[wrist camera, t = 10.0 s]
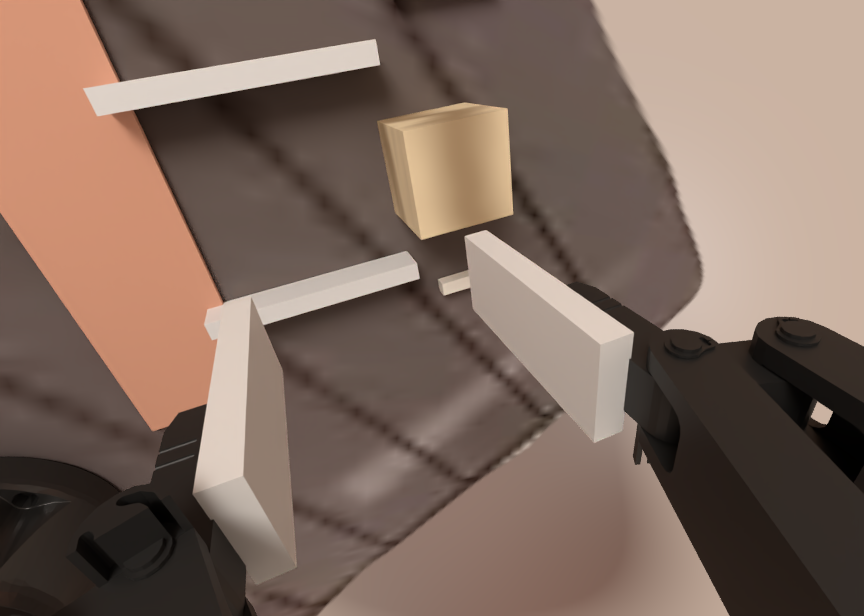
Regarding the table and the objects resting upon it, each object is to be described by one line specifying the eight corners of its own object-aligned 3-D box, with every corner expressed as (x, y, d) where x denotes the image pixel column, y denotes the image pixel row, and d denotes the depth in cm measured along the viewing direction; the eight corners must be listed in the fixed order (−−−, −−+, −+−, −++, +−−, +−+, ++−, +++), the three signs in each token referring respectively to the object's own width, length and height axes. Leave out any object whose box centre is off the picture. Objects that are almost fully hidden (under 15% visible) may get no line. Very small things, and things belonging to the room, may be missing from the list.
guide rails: (215, 321, 29) (212, 340, 27) (99, 87, 22) (83, 88, 20) (409, 265, 32) (419, 278, 30) (365, 41, 25) (375, 39, 23)
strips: (439, 290, 34) (444, 295, 33) (389, -23, 24) (393, -27, 23) (507, 269, 35) (513, 274, 35) (487, -37, 25) (495, -41, 24)
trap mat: (153, 427, 31) (152, 431, 31) (-191, -73, 17) (-200, -76, 17) (265, 390, 33) (265, 394, 33) (39, -92, 19) (35, -96, 18)
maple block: (394, 212, 30) (421, 239, 25) (376, 120, 27) (402, 131, 22) (473, 192, 31) (513, 214, 26) (464, 102, 28) (507, 108, 23)
